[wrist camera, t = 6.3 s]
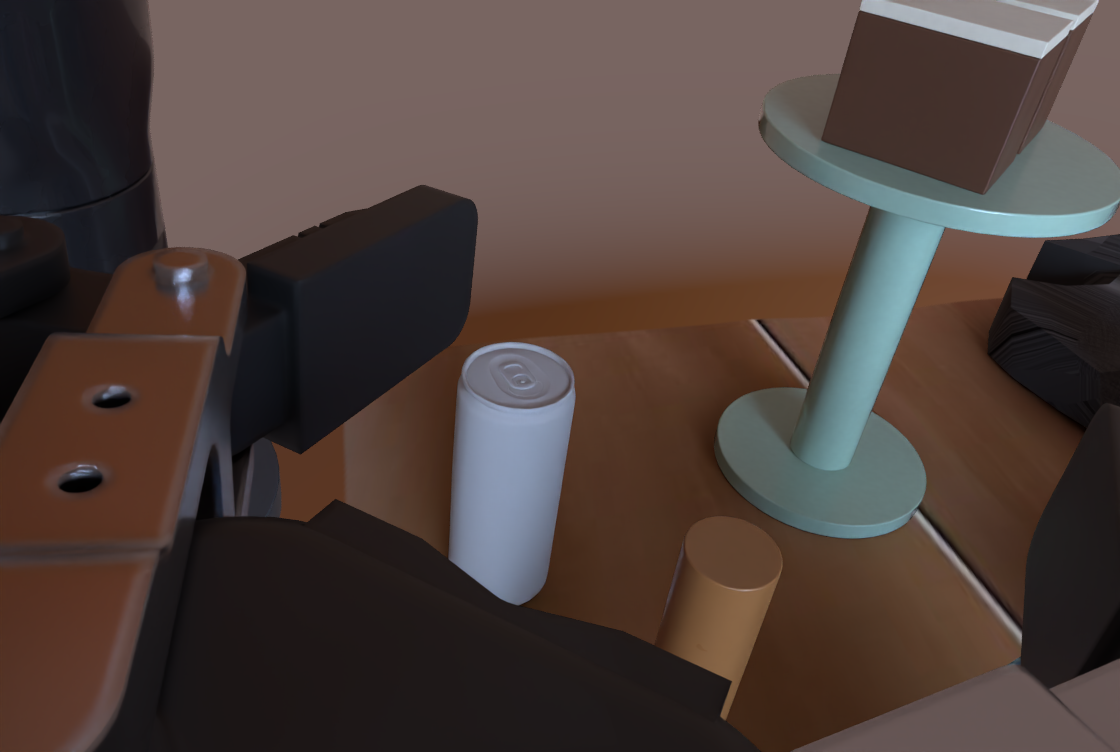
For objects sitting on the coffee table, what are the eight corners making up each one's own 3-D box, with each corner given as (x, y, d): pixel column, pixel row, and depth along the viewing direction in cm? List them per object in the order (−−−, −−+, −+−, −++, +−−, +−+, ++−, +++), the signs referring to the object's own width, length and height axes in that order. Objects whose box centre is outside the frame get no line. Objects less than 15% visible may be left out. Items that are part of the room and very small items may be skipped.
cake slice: (1019, 155, 41) (1079, 15, 37) (869, 108, 44) (912, -26, 40) (1043, 128, 44) (1100, -3, 41) (902, 86, 47) (944, -39, 44)
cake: (983, 196, 36) (1048, 42, 33) (819, 141, 39) (863, -6, 36) (1013, 162, 40) (1074, 20, 36) (860, 114, 43) (903, -23, 39)
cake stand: (681, 542, 47) (781, 180, 35) (677, 364, 60) (750, 56, 48) (992, 589, 47) (1195, 241, 35) (921, 400, 60) (1052, 100, 48)
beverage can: (469, 629, 41) (487, 422, 34) (430, 554, 45) (439, 351, 38) (563, 597, 43) (599, 396, 36) (519, 528, 47) (545, 331, 40)
